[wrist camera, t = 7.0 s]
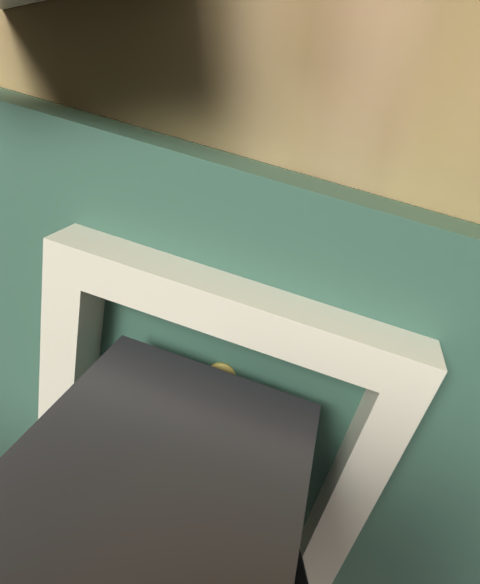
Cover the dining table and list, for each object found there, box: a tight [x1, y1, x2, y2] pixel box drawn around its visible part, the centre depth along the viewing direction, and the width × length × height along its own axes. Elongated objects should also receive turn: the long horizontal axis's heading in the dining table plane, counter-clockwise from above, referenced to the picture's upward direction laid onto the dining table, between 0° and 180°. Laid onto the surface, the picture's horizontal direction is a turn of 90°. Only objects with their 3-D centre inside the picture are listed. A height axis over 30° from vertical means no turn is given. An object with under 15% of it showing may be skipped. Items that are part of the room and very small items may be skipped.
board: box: [0, 87, 480, 584], centre depth 11 cm, size 16×14×2 cm
